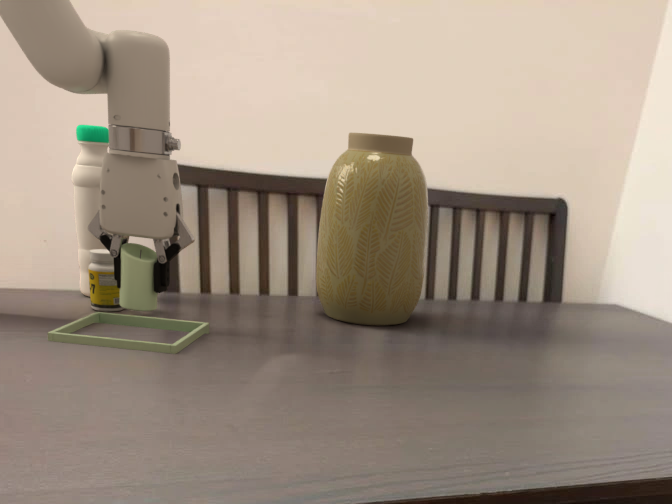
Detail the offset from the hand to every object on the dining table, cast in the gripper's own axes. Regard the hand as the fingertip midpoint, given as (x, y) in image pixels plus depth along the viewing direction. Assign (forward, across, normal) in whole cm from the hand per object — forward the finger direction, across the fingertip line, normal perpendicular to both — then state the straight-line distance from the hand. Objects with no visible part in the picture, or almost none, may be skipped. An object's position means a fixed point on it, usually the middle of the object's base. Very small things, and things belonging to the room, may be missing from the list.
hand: (142, 287), depth 100 cm
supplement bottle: (+5, +8, -7) cm, 12 cm away
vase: (+4, -30, -20) cm, 36 cm away
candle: (+3, +1, 0) cm, 3 cm away
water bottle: (+5, +13, -17) cm, 23 cm away
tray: (+5, -4, +13) cm, 14 cm away
